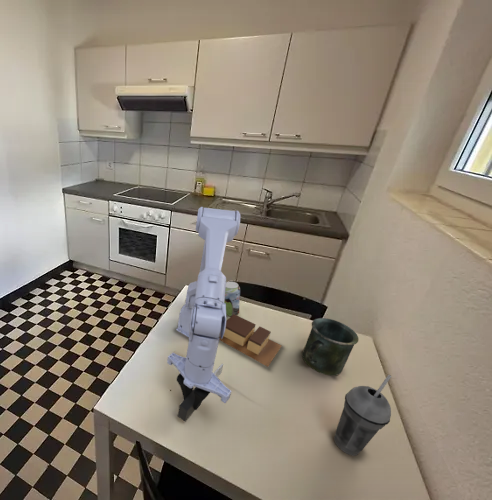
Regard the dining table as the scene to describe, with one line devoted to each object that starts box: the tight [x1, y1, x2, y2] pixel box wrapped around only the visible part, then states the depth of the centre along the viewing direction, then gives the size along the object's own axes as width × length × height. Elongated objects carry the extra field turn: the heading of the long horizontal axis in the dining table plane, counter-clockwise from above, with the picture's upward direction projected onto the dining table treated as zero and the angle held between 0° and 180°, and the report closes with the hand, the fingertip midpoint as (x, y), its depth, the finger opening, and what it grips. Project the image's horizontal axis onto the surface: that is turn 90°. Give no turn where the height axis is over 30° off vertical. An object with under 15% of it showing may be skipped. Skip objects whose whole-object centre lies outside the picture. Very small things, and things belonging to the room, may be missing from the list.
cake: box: [224, 314, 257, 346], centre depth 89 cm, size 8×8×4 cm
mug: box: [301, 317, 359, 377], centre depth 78 cm, size 11×15×12 cm
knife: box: [177, 363, 224, 423], centre depth 66 cm, size 2×18×4 cm, turn 137°
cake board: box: [219, 333, 283, 368], centre depth 87 cm, size 18×12×1 cm, turn 48°
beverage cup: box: [333, 374, 392, 457], centre depth 56 cm, size 7×7×20 cm
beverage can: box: [224, 281, 241, 317], centre depth 99 cm, size 6×7×12 cm
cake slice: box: [247, 326, 272, 355], centre depth 85 cm, size 4×8×4 cm, turn 138°
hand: (192, 402), depth 63 cm, fingers closed on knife, 2 cm apart
